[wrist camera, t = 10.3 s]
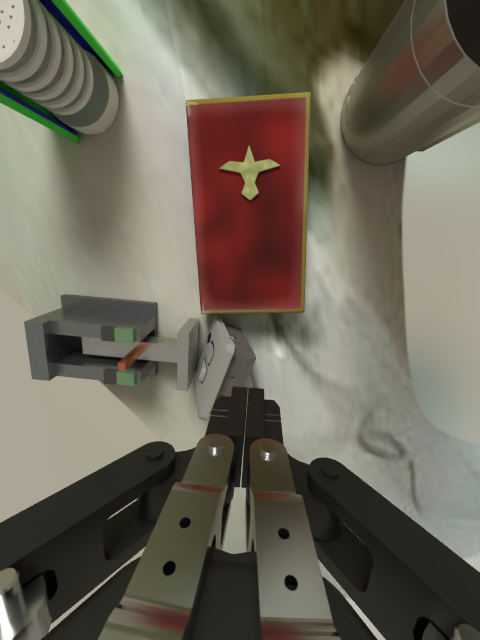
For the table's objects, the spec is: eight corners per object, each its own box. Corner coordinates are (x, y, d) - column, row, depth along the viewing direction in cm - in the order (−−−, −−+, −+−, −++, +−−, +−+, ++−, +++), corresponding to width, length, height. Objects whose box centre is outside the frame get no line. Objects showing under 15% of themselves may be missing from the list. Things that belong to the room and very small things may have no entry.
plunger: (199, 318, 36) (183, 340, 29) (196, 369, 38) (182, 402, 31) (96, 309, 37) (54, 328, 29) (99, 359, 39) (61, 390, 31)
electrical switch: (215, 312, 37) (210, 339, 28) (253, 324, 37) (260, 355, 28) (193, 374, 39) (182, 417, 30) (229, 384, 40) (229, 430, 31)
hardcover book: (204, 306, 37) (198, 314, 33) (191, 117, 31) (181, 99, 27) (299, 304, 36) (304, 312, 32) (304, 110, 30) (311, 90, 26)
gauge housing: (157, 302, 36) (134, 317, 30) (157, 373, 39) (136, 401, 33) (64, 294, 37) (22, 307, 30) (71, 365, 40) (33, 391, 33)
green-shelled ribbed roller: (101, 157, 32) (-77, 64, 15) (34, 118, 31) (-235, -25, 14) (132, 69, 30) (-39, -162, 12) (60, 26, 29) (-228, -284, 12)
